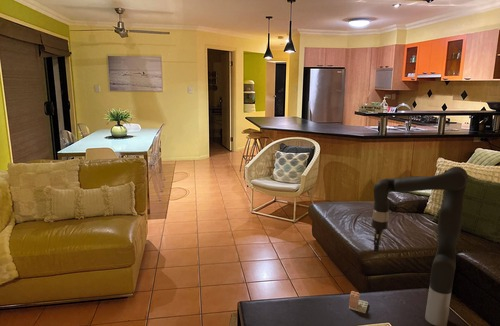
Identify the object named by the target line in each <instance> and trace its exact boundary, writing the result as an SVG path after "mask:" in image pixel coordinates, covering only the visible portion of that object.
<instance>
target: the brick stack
mask: <svg viewBox="0 0 500 326" xmlns="http://www.w3.org/2000/svg"><path fill="white" fill-rule="evenodd" d="M360 295H361V294H360V293H359V292H358V291H354V290H351V291H350V295H349V302H348V307H349V306H351V307H355V308H357V307H358V304H359V300H360Z"/></svg>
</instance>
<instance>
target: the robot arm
mask: <svg viewBox="0 0 500 326" xmlns="http://www.w3.org/2000/svg"><path fill="white" fill-rule="evenodd" d="M468 181H469V174H468V172H467V171H466V169H464V168H463V167H460V166H453V167H450V168H448V169H447V170H446V171H445V172H443V173H439V174H434V175H430V176H429V175H428V176H421V175H419V176H416V175H414V176H413V175H412V176H405V177H397V178H389V177H387V178H382V179H380V180H378V181H377V182H375V184H374V187H373V199H374V202H373V212H372V216H371V217H372V219H371V227H372V228H373V229H375V230H374V237H373V246H374V247H373V252H376V253H379V250H380V246H381V245H382V239H383V236H384V231H385V230H387V229H388V225H389V217H390V214H389V210H390V200H389V196H388V195H389V193H394V192H397V193H411V192H421V191H430V190H431V191H436V190H437V191H444V198H443V200H442V204H441V207H440V211H439V213H438V221H437V239H438V244H437V250H436V253H435V256H434V259H433V262H432V265H431V269H430V276H429V287H428V294H427V301H426V307H425V315H424V319H425V320H426V321H427V323H429V324H430V325H433V326H448V319H449V314H450V302H451V297H452V292H453V284H454V278H455V273H456V267H457V264H456V263H457V262H456V260H457V258H456V257H457V256H456V255H457V254H456V251H457V244H458V241H459V238H460V236H461V235H460V234H461V231H462V230H461V229H462V222H463V214H464V212H463V210H464V209H463V208H464V195H465V192H466V188H467V185H468Z"/></svg>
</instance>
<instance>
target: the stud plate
mask: <svg viewBox="0 0 500 326" xmlns="http://www.w3.org/2000/svg"><path fill="white" fill-rule="evenodd" d="M368 305H369V302H368V301H366V300H363V299H362V300H361V299H359V304H358V307H357V308H355V307H351V306H349V305H348V310H353V311H357V312H359V313H363V314H366V313H367V309H368Z"/></svg>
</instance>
